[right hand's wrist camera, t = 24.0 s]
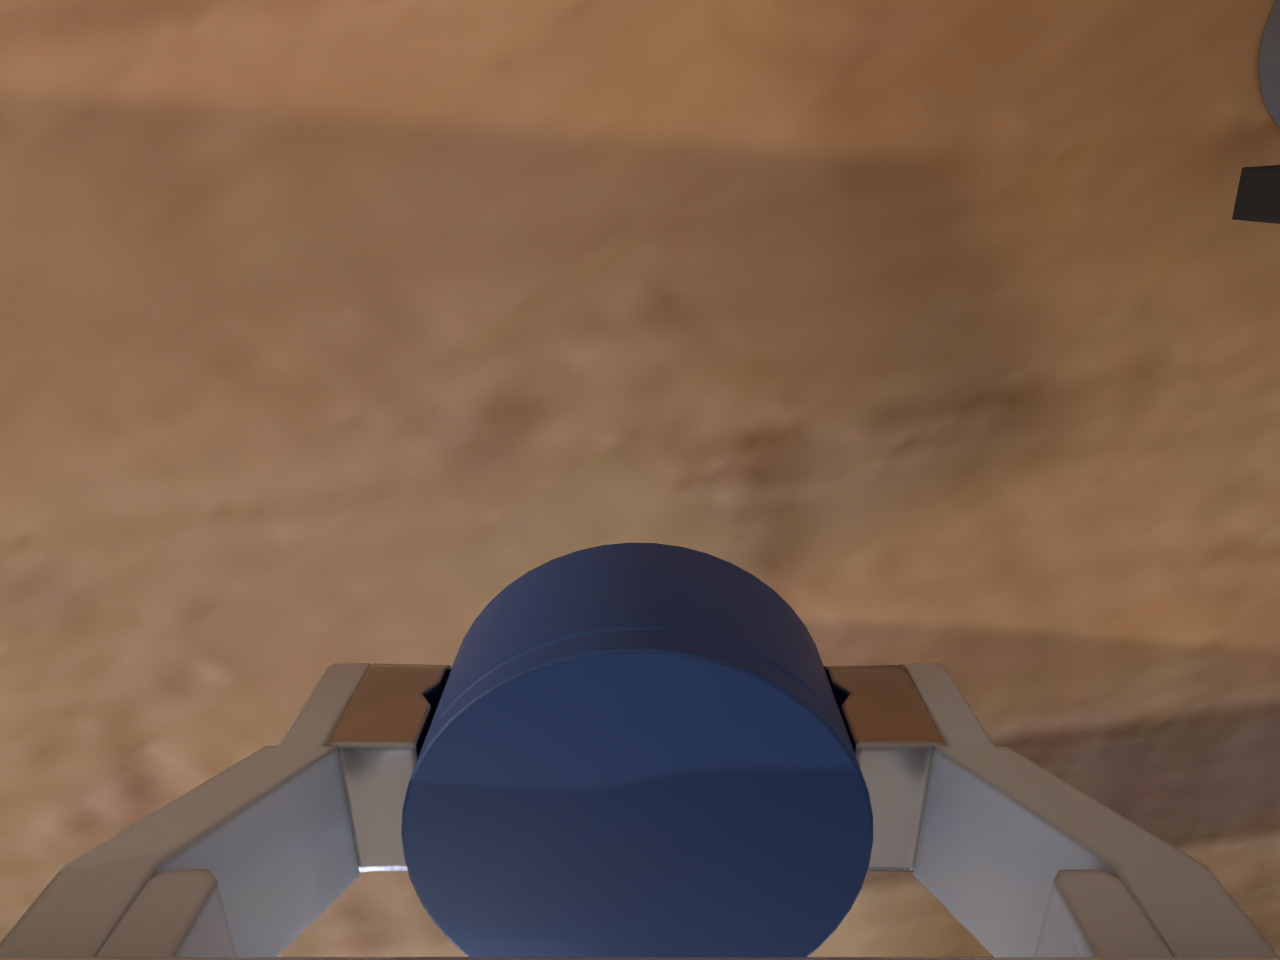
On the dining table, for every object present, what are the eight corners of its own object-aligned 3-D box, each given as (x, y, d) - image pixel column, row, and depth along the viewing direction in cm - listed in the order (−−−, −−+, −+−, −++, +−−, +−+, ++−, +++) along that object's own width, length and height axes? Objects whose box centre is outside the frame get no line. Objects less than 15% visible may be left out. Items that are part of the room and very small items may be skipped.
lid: (876, 583, 10) (943, 702, 8) (768, 877, 12) (797, 1040, 9) (479, 503, 9) (430, 604, 7) (428, 819, 11) (378, 977, 9)
